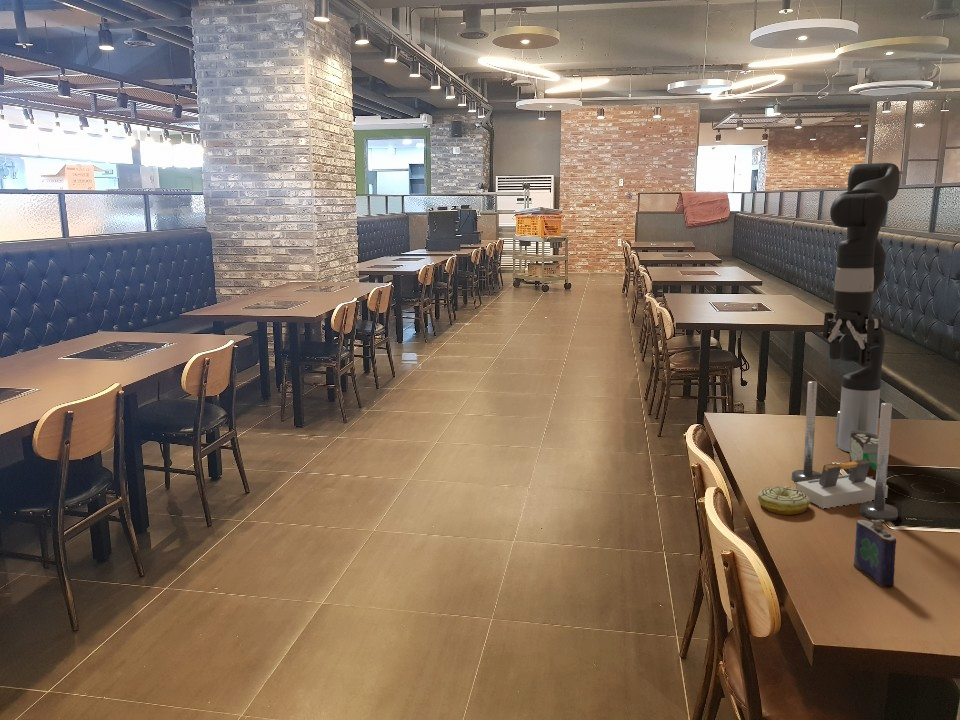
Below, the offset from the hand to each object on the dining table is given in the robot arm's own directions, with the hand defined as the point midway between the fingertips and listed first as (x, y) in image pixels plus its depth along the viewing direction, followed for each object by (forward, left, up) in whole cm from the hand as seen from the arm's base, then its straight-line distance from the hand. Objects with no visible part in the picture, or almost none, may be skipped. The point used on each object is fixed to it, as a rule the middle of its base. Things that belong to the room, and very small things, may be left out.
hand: (849, 362), depth 161 cm
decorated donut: (+1, -16, -32) cm, 35 cm away
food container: (-8, +15, -32) cm, 36 cm away
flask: (+32, -21, -32) cm, 50 cm away
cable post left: (-11, 0, -31) cm, 33 cm away
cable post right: (+11, 0, -31) cm, 33 cm away
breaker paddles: (0, 0, -28) cm, 28 cm away
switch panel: (0, 0, -31) cm, 31 cm away
